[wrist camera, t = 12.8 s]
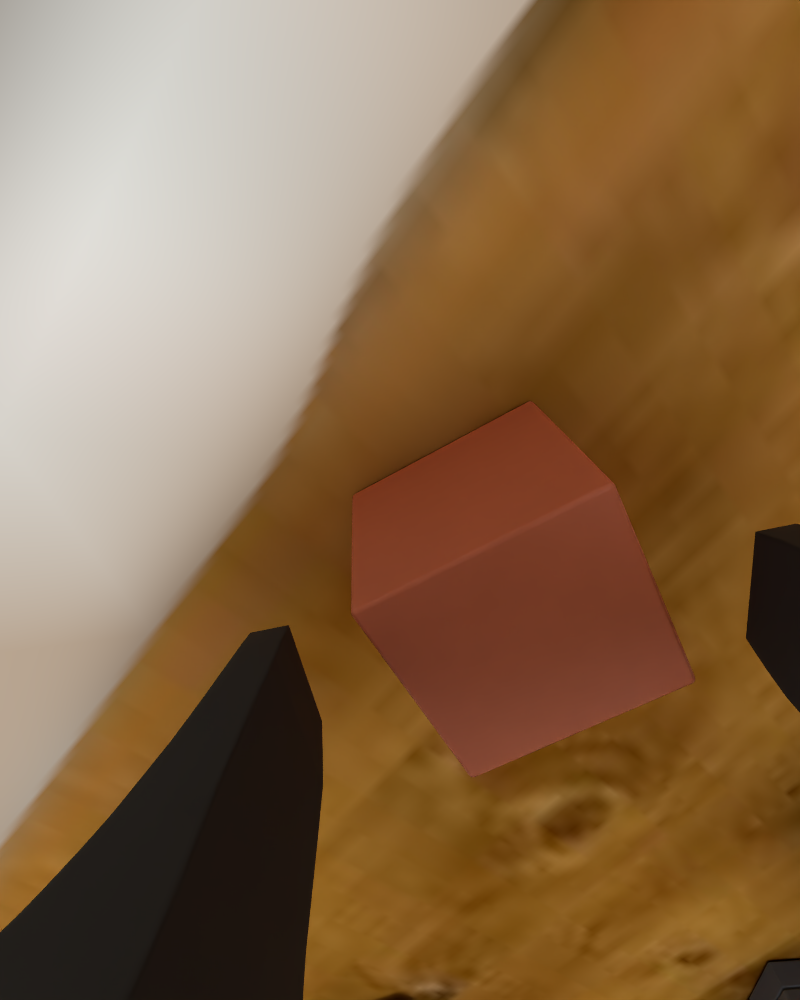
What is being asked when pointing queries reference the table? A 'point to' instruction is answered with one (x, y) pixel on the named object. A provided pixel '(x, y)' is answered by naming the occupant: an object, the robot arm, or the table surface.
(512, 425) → the block
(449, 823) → the table surface
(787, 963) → the cabinet
